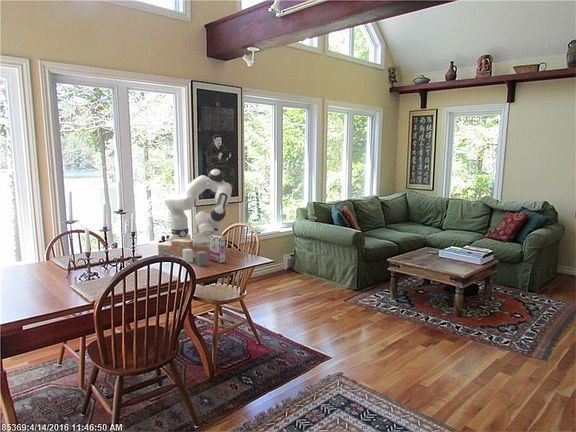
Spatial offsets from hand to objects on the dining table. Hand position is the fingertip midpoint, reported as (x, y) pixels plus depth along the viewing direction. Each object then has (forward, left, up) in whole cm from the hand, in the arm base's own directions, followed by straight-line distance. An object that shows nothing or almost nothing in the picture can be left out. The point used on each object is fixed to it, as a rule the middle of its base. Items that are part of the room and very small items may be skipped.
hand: (212, 249), depth 269 cm
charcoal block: (+12, -12, -6) cm, 18 cm away
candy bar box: (+9, 0, -6) cm, 11 cm away
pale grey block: (+1, -17, -6) cm, 18 cm away
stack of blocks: (-11, -21, -6) cm, 25 cm away
